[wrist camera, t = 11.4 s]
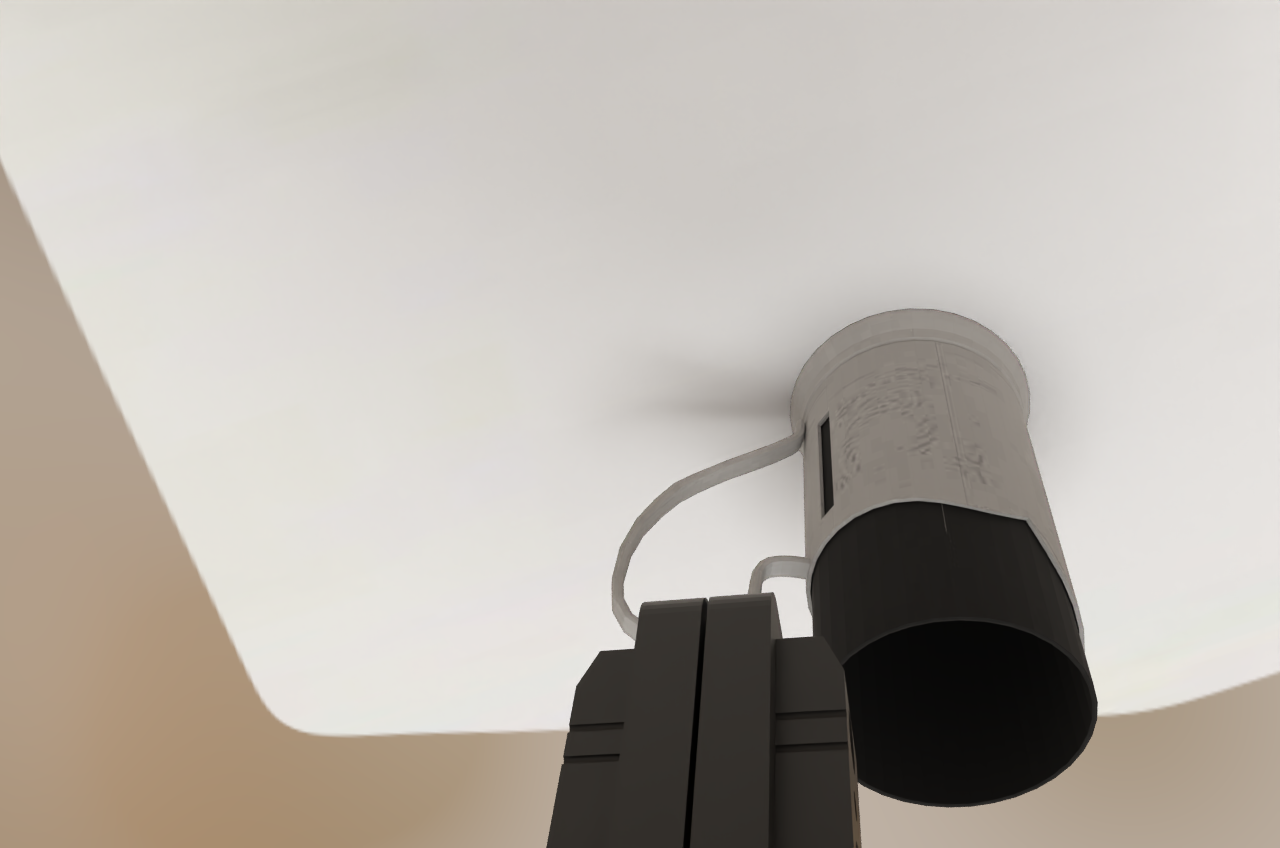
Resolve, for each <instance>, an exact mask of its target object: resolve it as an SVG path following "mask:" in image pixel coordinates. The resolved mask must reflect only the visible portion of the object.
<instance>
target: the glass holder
mask: <svg viewBox="0 0 1280 848" xmlns="http://www.w3.org/2000/svg"><path fill="white" fill-rule="evenodd" d="M1029 413H1030V391H1029V387H1028V383H1027V379H1026V374H1025V372H1024V370H1023V368H1022V366H1021V364H1020V362H1019V360H1018V358H1017V357H1016V355H1015V354H1014V353H1013V352H1012V350H1011V349H1010V348H1009V346H1008V345H1007V344H1006V343H1005V342H1004V341H1003V340H1001V339H1000V338H999V337H998V336H997V335H996V334H994V333H993V332H992V331H991V330H989V329H987V328H985V327H984V326H982V325H980V324H979V323H977V322H975V321H973V320H970V319H967V318H965V317H962V316H959V315H957V314H953V313H948V312H943V311H938V310H930V309H905V310H896V311H889V312H885V313H881V314H877V315H874V316H870V317H867V318H865V319H862V320H860V321H858V322H856V323H853V324H851V325H849V326H847V327H846V328H844V329H842V330H841V331H839V332H838V333H836V334H835V335H833V336H831V337H830V338H829V339H828V340H827V341H826V342H825V343H824V344H822V345H821V346H820V347H819V348H818V349H817V350H816V351H815V352H814V354H813V355H812V356H811V357H810V359H809V360H808V361H807V363H806V364H805V365H804V367H803V369H802V371H801V373H800V375H799V377H798V379H797V381H796V383H795V387H794V390H793V394H792V397H791V409H790V418H791V425H792V432H793V435H791V436H789V437H787V438H785V439H783V440H780V441H778V442H776V443H773V444H771V445H768V446H766V447H763V448H760V449H757V450H755V451H752V452H749V453H746V454H743V455H741V456H738V457H735V458H732V459H729V460H726V461H724V462H722V463H719V464H717V465H715V466H712V467H710V468H707V469H705V470H702V471H700V472H697V473H695V474H692V475H690V476H688V477H686V478H684V479H682V480H680V481H678V482H676V483H674V484H673V485H671V486H670V487H669V488H668V489H667V490H665V491H664V492H663V493H662V494H661V495H659V496H658V497H657V498H656V499H655V500H654V501H653V502H652V503H651V504H650V505H649V506H648V507H647V508H646V509H645V510H644V511H643V513H642V514H641V515H640V516H639V517H638V518H637V519H636V521H635V522H634V524H633V526H632V527H631V529H630V531H629V533H628V534H627V536H626V538H625V539H624V541H623V543H622V544H621V546H620V549H619V553H618V557H617V561H616V564H615V568H614V572H613V576H612V611H613V614H614V615H615V617H616V619H617V621H618V623H619V624H620V626H621V628H622V630H623V632H624V633H626V634H627V635H628V636H630V637H631V638H632V639H633V640H635V641H636V633H637V626H638V619H639V618H638V617H636V616H635V615H633V614H632V613H631V611H630V609H629V607H628V605H627V603H626V601H625V600H624V586H623V583H624V580H625V576H626V573H627V569H628V566H629V562H630V559H631V556H632V555H633V553H634V551H635V550H636V548H637V546H638V544H639V543H640V541H641V539H642V538H643V536H644V535H645V534H646V533H647V532H648V531H649V530H650V529H651V528H652V527H653V526H654V525H655V524H656V523H657V522H658V521H659V520H660V519H661V518H662V517H663V516H664V515H665V514H666V513H668V512H669V511H670V510H671V509H673V508H674V507H675V506H676V505H678V504H679V503H680V502H682V501H684V500H686V499H688V498H690V497H692V496H693V495H695V494H697V493H699V492H702V491H704V490H706V489H708V488H710V487H713V486H715V485H717V484H720V483H722V482H724V481H727V480H729V479H732V478H735V477H738V476H741V475H744V474H747V473H749V472H752V471H755V470H757V469H760V468H763V467H765V466H768V465H771V464H773V463H776V462H778V461H780V460H782V459H784V458H787V457H789V456H791V455H793V454H794V453H796V452H797V451H798V450H799V451H800V452H801V454H802V455H803V468H804V516H805V557H797V556H774V557H768V558H766V559H764V560H762V561H760V562H759V563H758V565H757V566H756V567H755V569H754V570H753V572H752V575H751V580H750V584H749V590H748V594H758V593H761V590H762V583H763V581H765V580H766V579H768V578H771V577H794V578H801V579H806V594H807V601H808V608H809V610H810V613H811V615H812V618H813V637H814V636H823V637H824V638H825V640H826V642H827V643H828V645H829V646H830V648H831V650H832V651H833V653H834V654H835V656H836V658H837V659H838V661H839V662H840V664H841V666H842V667H843V669H844V673H845V681H846V688H847V696H848V703H849V710H850V718H851V725H852V733H853V740H854V747H855V755H856V764H857V781H858V783H860V784H861V785H863V786H864V787H867V788H869V789H871V790H873V791H875V792H877V793H879V794H881V795H884V796H887V797H890V798H893V799H897V800H900V801H903V802H908V803H913V804H919V805H924V806H936V807H971V806H978V805H984V804H991V803H996V802H1000V801H1003V800H1006V799H1011V798H1014V797H1017V796H1020V795H1022V794H1025V793H1027V792H1030V791H1032V790H1034V789H1037V788H1039V787H1040V786H1042V785H1044V784H1045V783H1047V782H1049V781H1051V780H1052V779H1054V778H1056V777H1057V776H1058V775H1059V774H1061V773H1062V772H1063V771H1064V770H1066V769H1067V768H1068V767H1069V766H1071V765H1072V763H1073V762H1074V761H1075V760H1076V759H1077V758H1078V757H1079V755H1080V754H1081V753H1082V752H1083V751H1084V749H1085V747H1086V745H1087V744H1088V742H1089V740H1090V739H1091V737H1092V734H1093V731H1094V728H1095V724H1096V721H1097V704H1098V702H1097V697H1096V693H1095V689H1094V685H1093V681H1092V678H1091V674H1090V671H1089V667H1088V664H1087V660H1086V656H1085V648H1084V627H1083V623H1082V619H1081V615H1080V611H1079V607H1078V604H1077V600H1076V597H1075V593H1074V590H1073V586H1072V583H1071V579H1070V576H1069V572H1068V569H1067V565H1066V562H1065V558H1064V555H1063V551H1062V548H1061V545H1060V541H1059V538H1058V534H1057V531H1056V527H1055V524H1054V520H1053V517H1052V513H1051V510H1050V506H1049V503H1048V499H1047V496H1046V492H1045V489H1044V485H1043V482H1042V478H1041V475H1040V471H1039V468H1038V464H1037V461H1036V457H1035V454H1034V450H1033V447H1032V443H1031V440H1030V436H1029V433H1028V430H1027V422H1028V417H1029Z"/></svg>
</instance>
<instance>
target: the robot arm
mask: <svg viewBox="0 0 1280 848" xmlns="http://www.w3.org/2000/svg"><path fill="white" fill-rule="evenodd" d="M569 726H570V732H569V733H568V734H567V740H566V745H565V750H564V756H563V757H564V764H562V767H561V772H560V777H559V783H558V788H557V793H556V799H555V804H554V810H553V815H552V820H551V826H550V832H549V836H548V842H547V847H546V848H861V832H860V831H861V830H860V815H859V798H858V781H857V764H856V755H855V747H854V740H853V733H852V725H851V718H850V710H849V703H848V696H847V688H846V681H845V673H844V669H843V667H842V666H841V664H840V662H839V661H838V659H837V658H836V656H835V654H834V653H833V651H832V650H831V648H830V646H829V645H828V643H827V642H826V640H825V638H824V637H823V636H814V637H799V638H784V639H783V638H782V632H781V626H780V620H779V614H778V608H777V603H776V598H775V595H774V593H773V592H771V593H758V594H744V595H731V596H717V597H710V598H709V601H708V600H707V599H706V598H695V599H681V600H668V601H654V602H644V603H642V605H641V608H640V612H639V619H638V626H637V633H636V641H635V648H634V649H625V650H610V651H600V652H599V654H598V655H597V657H596V658H595V660H594V661H593V663H592V664H591V666H590V667H589V669H588V670H587V671H586V673H585V674H584V676H583V677H582V679H581V680H580V682H579V683H578V685H577V686H576V691H575V696H574V702H573V707H572V712H571V718H570V723H569Z"/></svg>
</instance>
